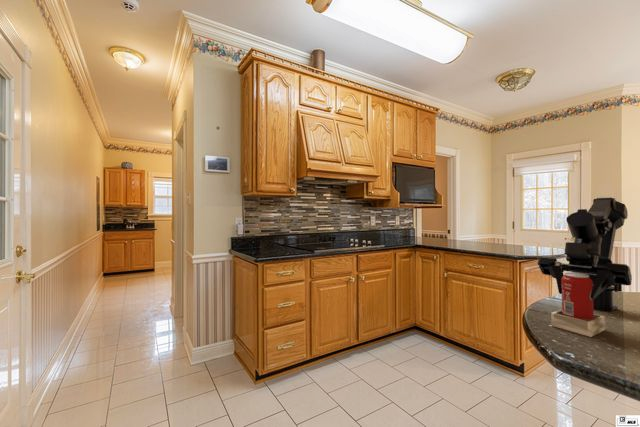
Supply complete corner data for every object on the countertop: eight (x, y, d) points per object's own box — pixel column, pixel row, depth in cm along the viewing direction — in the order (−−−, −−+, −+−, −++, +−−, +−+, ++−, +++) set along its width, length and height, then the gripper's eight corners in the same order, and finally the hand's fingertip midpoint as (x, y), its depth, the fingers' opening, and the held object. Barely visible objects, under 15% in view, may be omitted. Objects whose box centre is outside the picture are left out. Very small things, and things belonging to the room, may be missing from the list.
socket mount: (566, 319, 83) (565, 307, 83) (605, 329, 76) (604, 316, 76) (551, 325, 79) (551, 313, 79) (591, 336, 72) (590, 322, 72)
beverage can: (600, 323, 74) (599, 277, 74) (574, 323, 75) (572, 277, 75) (581, 314, 81) (579, 271, 80) (556, 314, 81) (555, 272, 81)
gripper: (538, 230, 87) (525, 272, 81) (628, 232, 72) (620, 284, 66) (548, 253, 92) (536, 294, 86) (634, 260, 77) (628, 311, 71)
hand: (575, 295), depth 77 cm, fingers closed on beverage can, 6 cm apart
